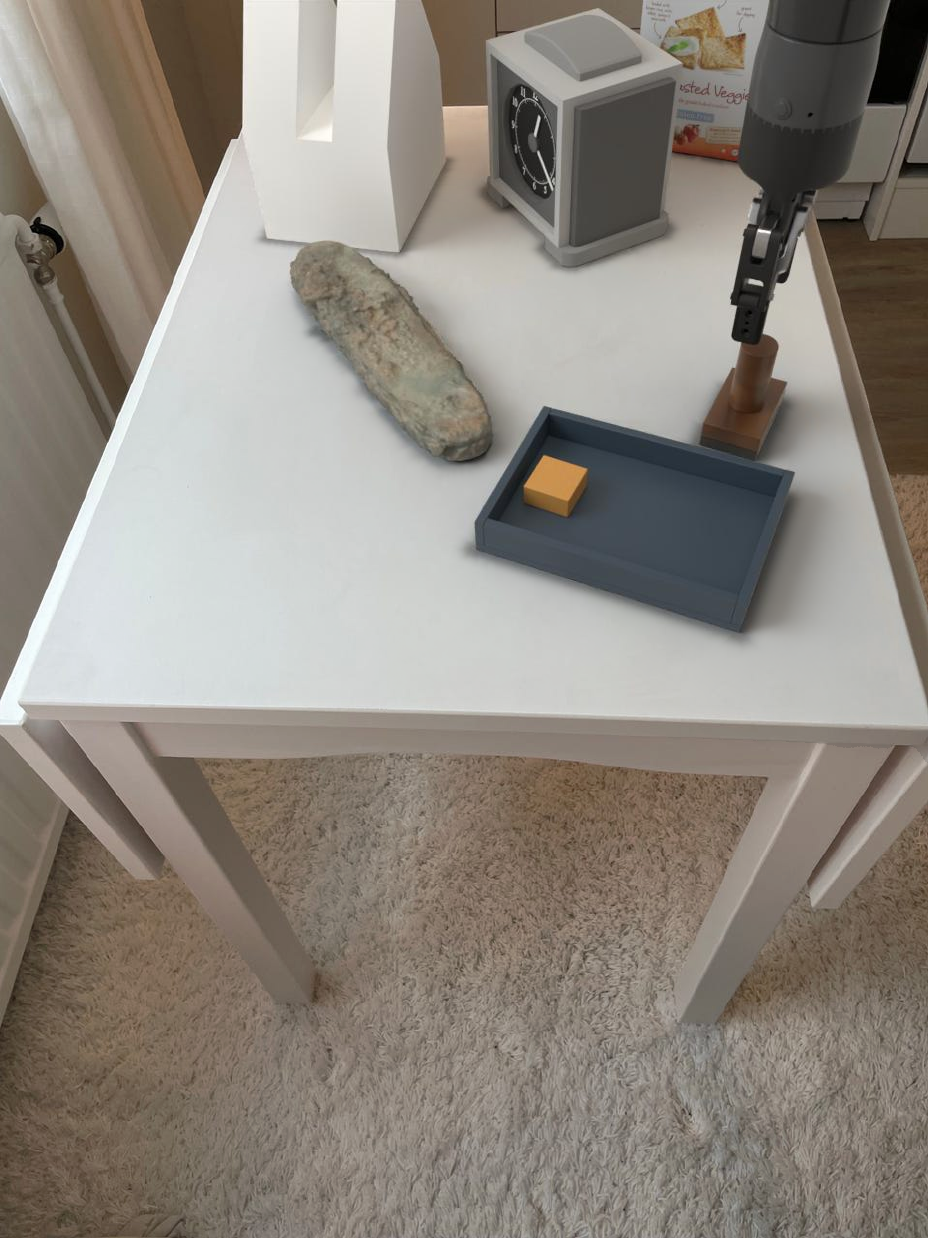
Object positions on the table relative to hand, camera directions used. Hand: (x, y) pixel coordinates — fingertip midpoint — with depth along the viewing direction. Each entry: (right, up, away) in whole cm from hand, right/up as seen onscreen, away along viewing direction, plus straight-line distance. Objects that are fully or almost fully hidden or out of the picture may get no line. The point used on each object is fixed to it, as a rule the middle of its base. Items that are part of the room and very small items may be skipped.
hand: (759, 308), depth 75 cm
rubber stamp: (+1, -7, +9) cm, 12 cm away
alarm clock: (-11, +21, +31) cm, 39 cm away
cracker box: (+4, +32, +38) cm, 50 cm away
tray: (-10, -17, +3) cm, 20 cm away
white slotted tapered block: (-35, +24, +34) cm, 55 cm away
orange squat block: (-16, -14, +4) cm, 22 cm away
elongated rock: (-31, +1, +17) cm, 35 cm away
